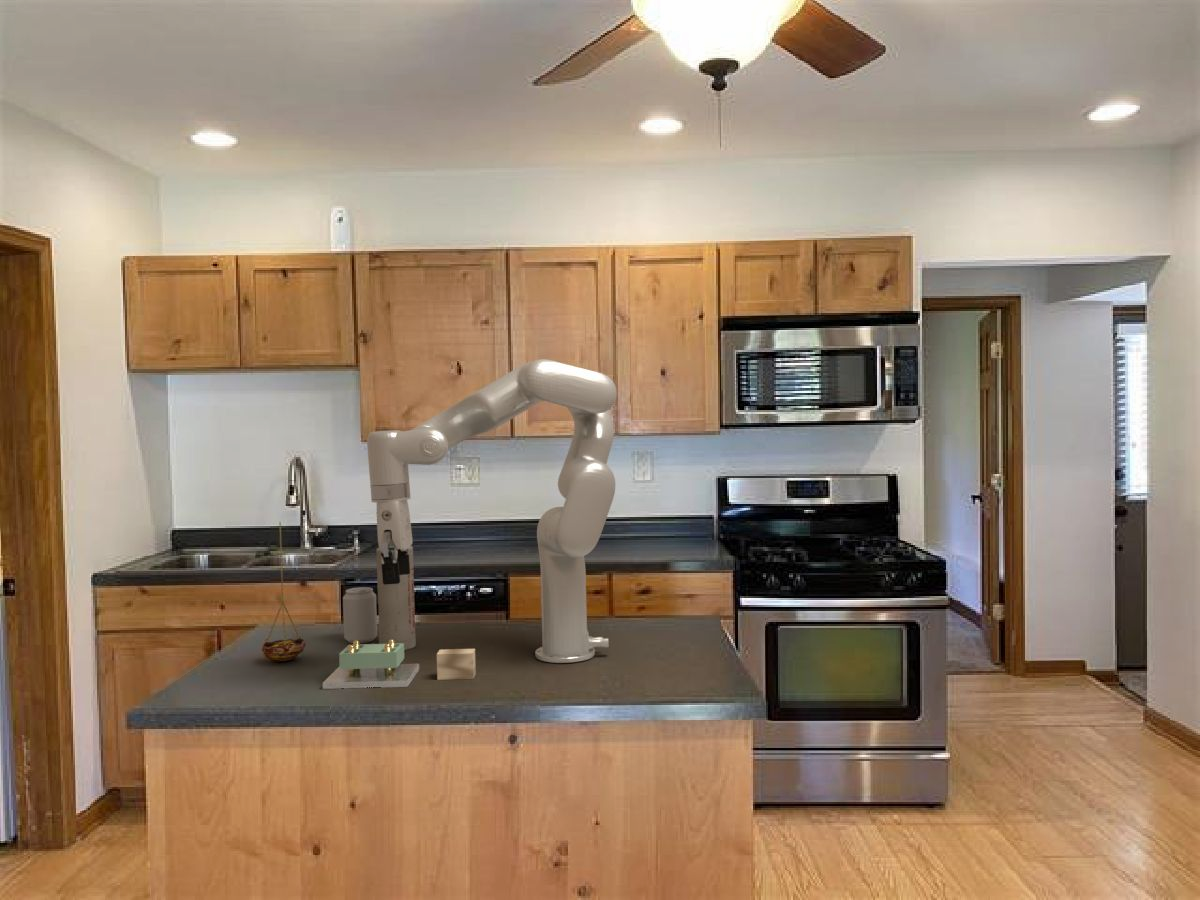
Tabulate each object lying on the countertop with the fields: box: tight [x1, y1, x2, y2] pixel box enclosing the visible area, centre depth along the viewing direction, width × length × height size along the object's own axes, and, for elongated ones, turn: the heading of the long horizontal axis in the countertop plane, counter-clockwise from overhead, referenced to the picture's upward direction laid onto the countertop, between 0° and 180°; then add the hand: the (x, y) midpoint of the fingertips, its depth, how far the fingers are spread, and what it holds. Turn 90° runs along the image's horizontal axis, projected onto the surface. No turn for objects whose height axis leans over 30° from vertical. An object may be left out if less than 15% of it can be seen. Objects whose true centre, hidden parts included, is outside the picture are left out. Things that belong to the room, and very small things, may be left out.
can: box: [342, 586, 378, 644], centre depth 207 cm, size 8×8×12 cm
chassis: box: [322, 639, 420, 690], centre depth 175 cm, size 16×12×7 cm
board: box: [338, 643, 405, 669], centre depth 175 cm, size 11×7×3 cm, turn 91°
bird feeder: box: [261, 521, 307, 663], centre depth 190 cm, size 9×9×30 cm
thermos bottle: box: [376, 545, 416, 651], centre depth 200 cm, size 8×8×28 cm
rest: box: [436, 648, 477, 681], centre depth 175 cm, size 7×4×5 cm, turn 91°
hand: (397, 579), depth 176 cm, fingers open, 9 cm apart
